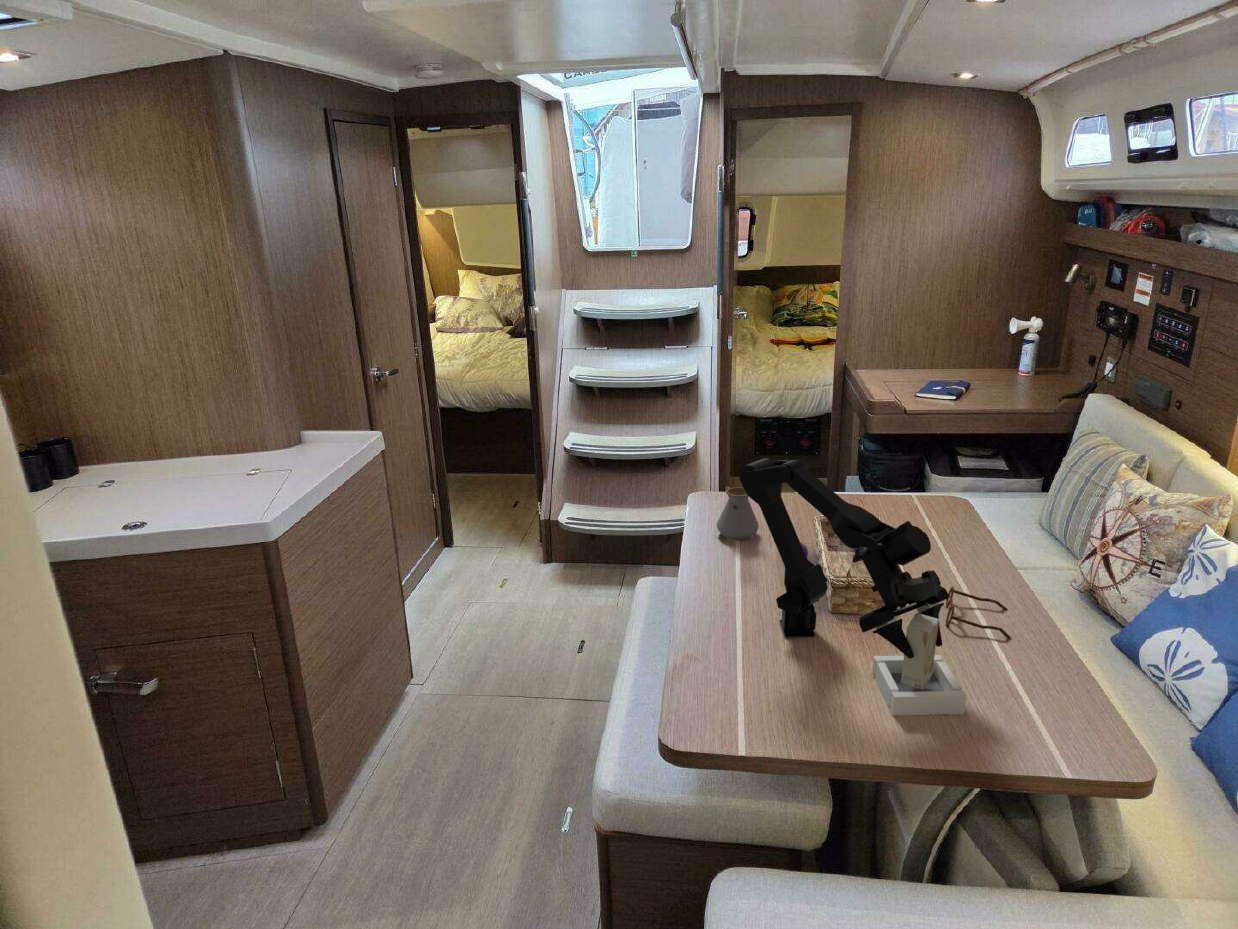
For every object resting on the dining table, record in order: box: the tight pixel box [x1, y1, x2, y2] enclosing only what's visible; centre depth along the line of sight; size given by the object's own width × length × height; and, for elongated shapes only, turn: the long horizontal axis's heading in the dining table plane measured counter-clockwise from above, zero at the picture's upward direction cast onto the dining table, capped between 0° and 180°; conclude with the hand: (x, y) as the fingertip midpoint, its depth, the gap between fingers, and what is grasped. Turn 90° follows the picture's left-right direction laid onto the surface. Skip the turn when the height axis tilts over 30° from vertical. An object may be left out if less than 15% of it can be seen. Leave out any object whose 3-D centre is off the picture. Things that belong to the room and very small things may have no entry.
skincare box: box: [901, 612, 940, 689], centre depth 149 cm, size 6×4×12 cm
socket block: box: [871, 654, 967, 716], centre depth 152 cm, size 13×13×4 cm
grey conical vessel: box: [716, 486, 760, 542], centre depth 213 cm, size 21×12×15 cm, turn 168°
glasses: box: [945, 586, 1012, 640], centre depth 176 cm, size 13×13×5 cm
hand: (926, 652), depth 148 cm, fingers closed on skincare box, 7 cm apart
